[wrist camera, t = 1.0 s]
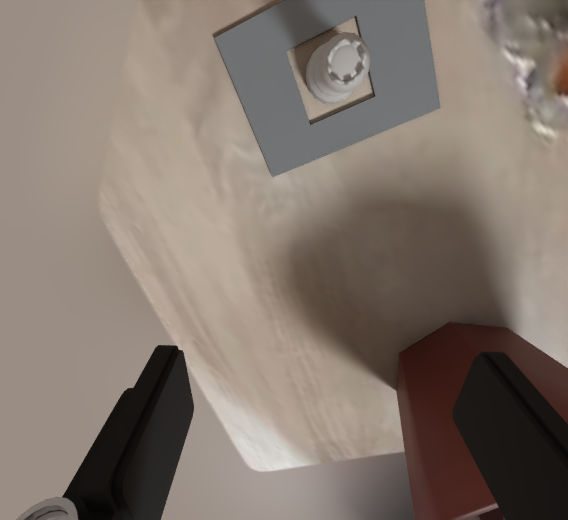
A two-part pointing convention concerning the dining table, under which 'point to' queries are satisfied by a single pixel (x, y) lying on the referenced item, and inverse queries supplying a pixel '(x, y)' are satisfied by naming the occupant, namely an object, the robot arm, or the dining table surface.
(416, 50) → the grey frame plate
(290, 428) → the dining table surface
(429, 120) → the dining table surface
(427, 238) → the dining table surface
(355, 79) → the rook chess piece
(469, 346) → the bucket
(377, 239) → the dining table surface
